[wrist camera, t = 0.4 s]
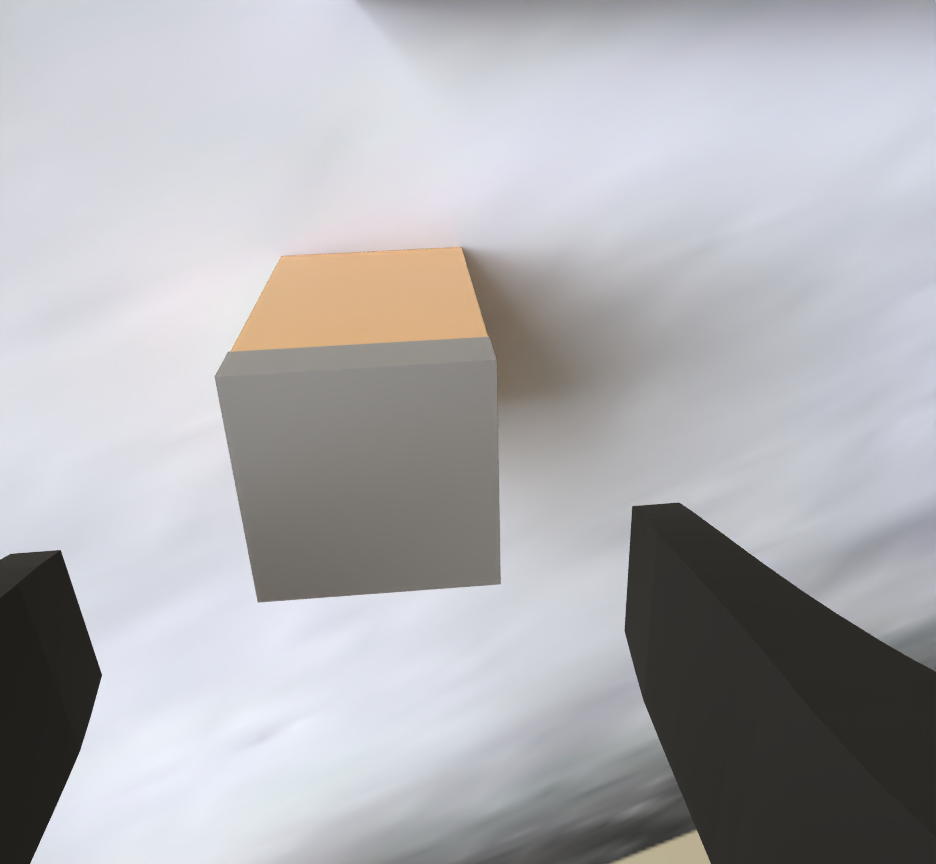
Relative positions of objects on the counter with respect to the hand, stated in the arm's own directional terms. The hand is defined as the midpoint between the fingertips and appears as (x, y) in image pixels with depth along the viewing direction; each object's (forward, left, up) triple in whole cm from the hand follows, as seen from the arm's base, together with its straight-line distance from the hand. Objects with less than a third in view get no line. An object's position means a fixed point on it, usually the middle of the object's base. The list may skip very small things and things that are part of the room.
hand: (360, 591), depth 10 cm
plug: (0, 0, -9) cm, 9 cm away
